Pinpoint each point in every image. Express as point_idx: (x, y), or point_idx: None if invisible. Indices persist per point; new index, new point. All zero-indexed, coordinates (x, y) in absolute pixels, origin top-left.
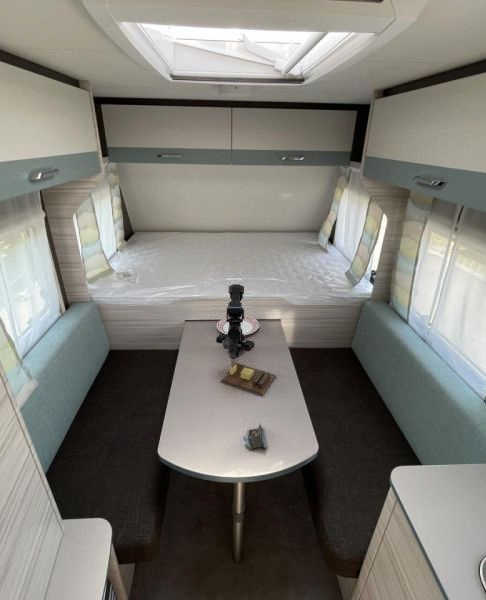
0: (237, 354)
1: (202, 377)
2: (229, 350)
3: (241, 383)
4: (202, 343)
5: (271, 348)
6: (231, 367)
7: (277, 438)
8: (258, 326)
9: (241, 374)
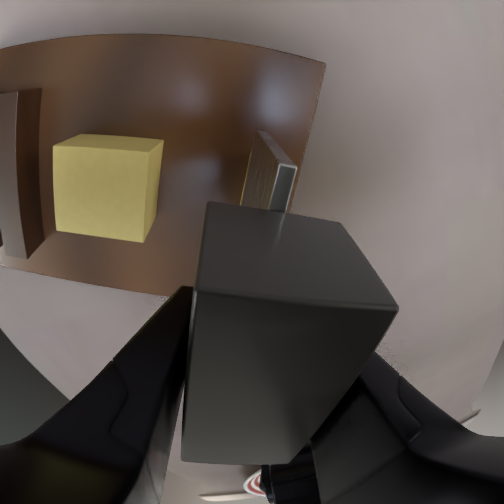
0: (168, 336)
1: (458, 100)
2: (397, 381)
3: (127, 63)
4: (455, 367)
5: None
6: (259, 131)
7: None
8: (245, 488)
9: (146, 145)
